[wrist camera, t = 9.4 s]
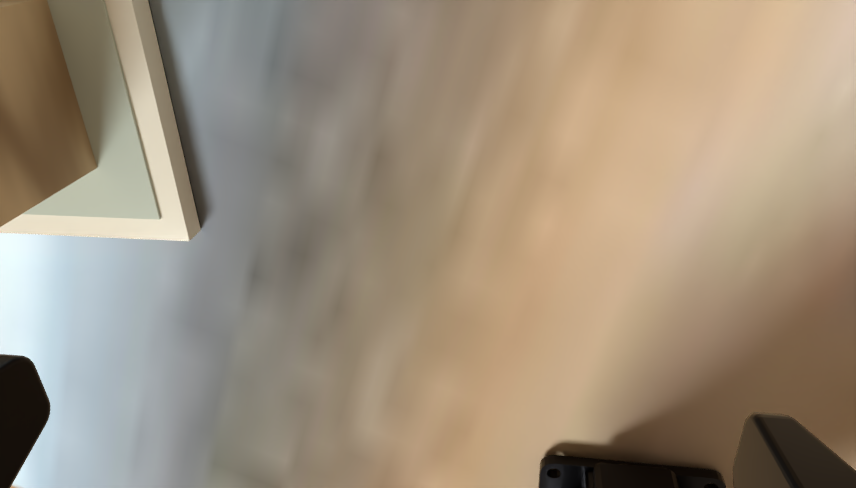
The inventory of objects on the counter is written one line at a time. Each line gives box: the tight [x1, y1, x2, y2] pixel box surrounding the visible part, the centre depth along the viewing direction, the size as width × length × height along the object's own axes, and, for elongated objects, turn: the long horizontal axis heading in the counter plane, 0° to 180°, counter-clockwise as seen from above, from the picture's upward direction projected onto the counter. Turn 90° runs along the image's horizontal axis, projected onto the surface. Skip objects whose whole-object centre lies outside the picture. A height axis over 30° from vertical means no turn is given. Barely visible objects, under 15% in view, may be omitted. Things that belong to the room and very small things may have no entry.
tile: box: [0, 0, 201, 241], centre depth 20 cm, size 10×10×1 cm
